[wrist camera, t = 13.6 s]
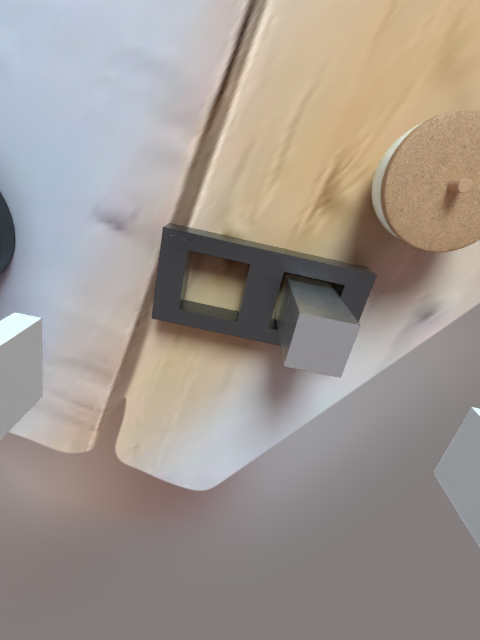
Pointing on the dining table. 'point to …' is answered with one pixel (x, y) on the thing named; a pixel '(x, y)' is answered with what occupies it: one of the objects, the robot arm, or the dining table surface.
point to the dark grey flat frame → (258, 286)
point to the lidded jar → (432, 183)
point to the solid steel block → (314, 326)
